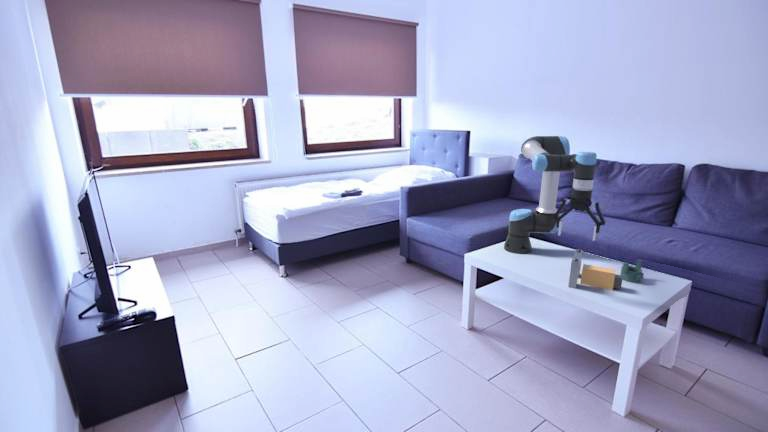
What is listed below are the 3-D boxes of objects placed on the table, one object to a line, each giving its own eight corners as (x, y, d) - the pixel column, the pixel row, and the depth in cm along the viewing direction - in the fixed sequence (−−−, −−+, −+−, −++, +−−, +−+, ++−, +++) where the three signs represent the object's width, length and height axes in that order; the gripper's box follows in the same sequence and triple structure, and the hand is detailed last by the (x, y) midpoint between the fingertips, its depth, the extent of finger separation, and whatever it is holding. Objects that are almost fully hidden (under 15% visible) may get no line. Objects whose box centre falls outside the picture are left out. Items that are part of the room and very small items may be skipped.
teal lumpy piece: (620, 281, 182) (623, 263, 180) (619, 273, 190) (622, 256, 188) (643, 284, 178) (646, 266, 176) (641, 277, 186) (644, 260, 184)
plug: (581, 279, 184) (583, 264, 182) (620, 287, 176) (623, 270, 174) (580, 284, 179) (582, 267, 177) (620, 291, 171) (623, 275, 169)
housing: (572, 272, 191) (576, 247, 188) (579, 274, 190) (583, 248, 186) (568, 286, 176) (571, 259, 173) (575, 288, 174) (579, 261, 171)
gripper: (549, 187, 166) (544, 234, 172) (615, 193, 153) (608, 244, 158) (552, 185, 173) (547, 230, 178) (617, 190, 159) (609, 239, 164)
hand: (576, 237), depth 168 cm, fingers open, 13 cm apart
